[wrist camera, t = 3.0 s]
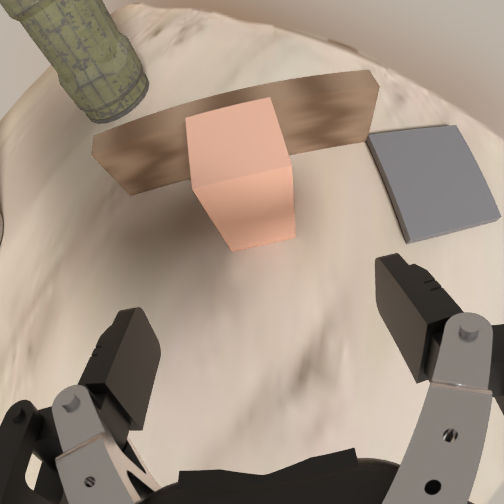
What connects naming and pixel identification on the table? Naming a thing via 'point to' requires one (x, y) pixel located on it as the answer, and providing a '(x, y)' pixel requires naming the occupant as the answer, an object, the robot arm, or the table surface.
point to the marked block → (243, 173)
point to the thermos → (85, 54)
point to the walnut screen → (281, 93)
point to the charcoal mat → (432, 181)
